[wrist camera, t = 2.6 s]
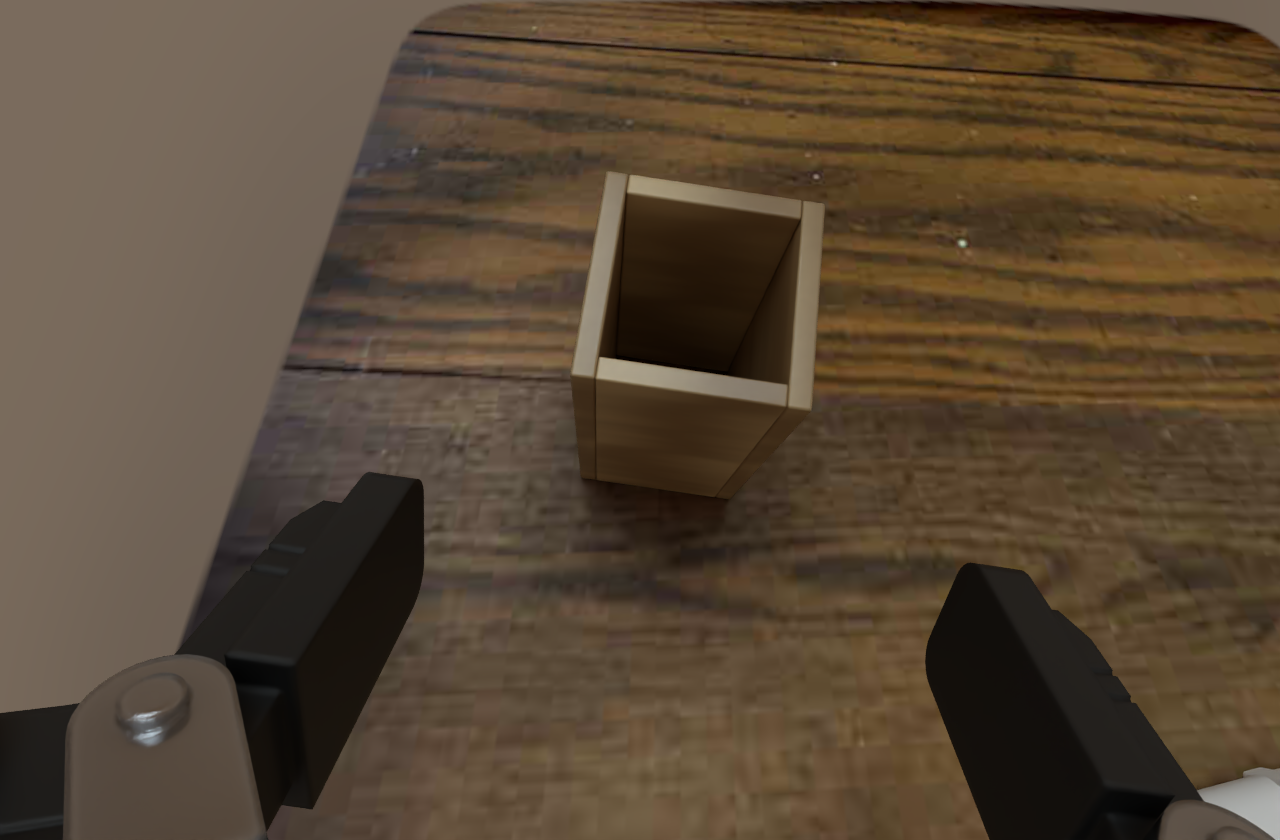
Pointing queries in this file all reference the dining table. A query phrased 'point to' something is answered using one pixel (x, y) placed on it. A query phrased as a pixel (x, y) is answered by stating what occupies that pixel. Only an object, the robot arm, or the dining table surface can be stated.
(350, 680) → the robot arm
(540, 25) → the dining table surface
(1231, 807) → the white brass knuckles
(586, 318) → the birch sleeve
